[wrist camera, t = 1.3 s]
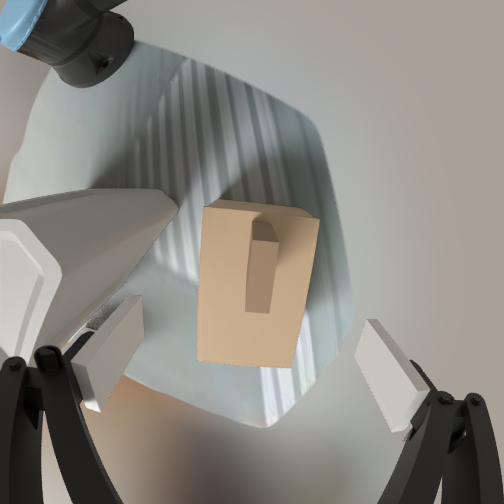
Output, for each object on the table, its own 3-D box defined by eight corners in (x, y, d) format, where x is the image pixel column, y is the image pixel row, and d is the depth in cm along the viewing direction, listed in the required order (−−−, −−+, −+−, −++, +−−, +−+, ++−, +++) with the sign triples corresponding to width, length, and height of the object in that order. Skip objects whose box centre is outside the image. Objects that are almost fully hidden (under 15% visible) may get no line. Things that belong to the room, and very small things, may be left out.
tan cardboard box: (204, 206, 30) (183, 220, 20) (318, 218, 30) (347, 237, 21) (198, 356, 35) (184, 408, 25) (290, 364, 35) (300, 416, 26)
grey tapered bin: (115, 148, 37) (-31, 136, 10) (181, 208, 40) (66, 270, 13) (61, 237, 40) (-58, 295, 13) (116, 292, 43) (19, 397, 16)
